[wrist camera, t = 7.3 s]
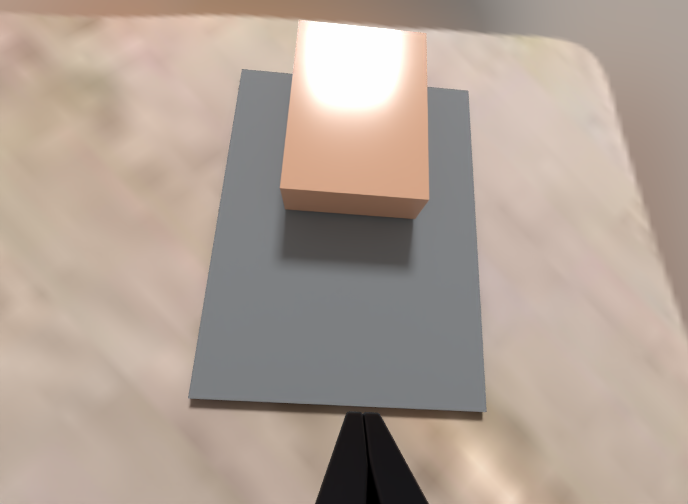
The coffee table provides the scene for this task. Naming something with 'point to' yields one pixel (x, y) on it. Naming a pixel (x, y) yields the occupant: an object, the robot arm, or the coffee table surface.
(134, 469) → the coffee table surface
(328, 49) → the peach rectangular block
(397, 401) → the mat
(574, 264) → the coffee table surface
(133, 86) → the coffee table surface
